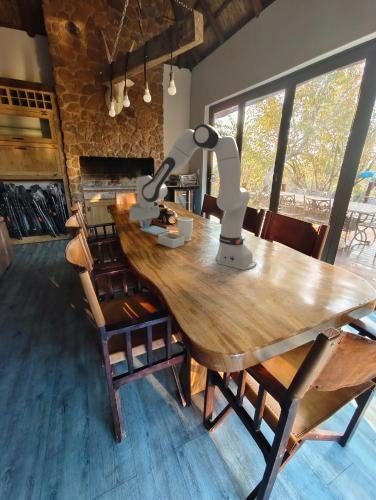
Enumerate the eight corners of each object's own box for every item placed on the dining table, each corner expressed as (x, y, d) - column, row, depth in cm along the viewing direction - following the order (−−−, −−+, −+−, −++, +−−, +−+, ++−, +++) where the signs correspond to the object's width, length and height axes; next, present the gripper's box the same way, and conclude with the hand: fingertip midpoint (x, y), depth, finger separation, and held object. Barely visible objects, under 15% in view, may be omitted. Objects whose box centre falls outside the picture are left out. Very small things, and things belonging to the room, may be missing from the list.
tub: (184, 245, 153) (184, 236, 151) (172, 249, 146) (172, 240, 144) (169, 240, 162) (169, 232, 160) (158, 243, 155) (158, 235, 153)
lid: (169, 232, 140) (169, 225, 139) (155, 236, 133) (155, 228, 132) (150, 226, 152) (149, 219, 151) (136, 229, 145) (135, 221, 143)
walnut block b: (172, 243, 155) (172, 237, 154) (166, 244, 153) (166, 238, 152) (169, 241, 158) (169, 235, 157) (163, 242, 156) (163, 236, 155)
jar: (193, 238, 169) (193, 217, 164) (192, 242, 159) (192, 220, 154) (178, 237, 170) (178, 216, 164) (176, 241, 160) (176, 220, 155)
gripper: (132, 206, 133) (134, 229, 138) (160, 202, 147) (161, 224, 152) (126, 204, 137) (128, 227, 142) (154, 201, 151) (154, 222, 156)
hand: (145, 225), depth 147 cm, fingers closed on lid, 3 cm apart
